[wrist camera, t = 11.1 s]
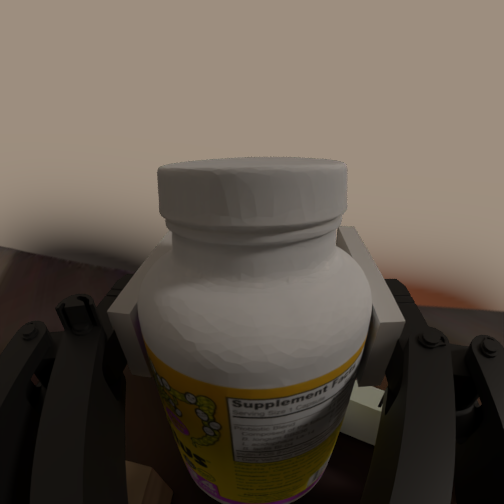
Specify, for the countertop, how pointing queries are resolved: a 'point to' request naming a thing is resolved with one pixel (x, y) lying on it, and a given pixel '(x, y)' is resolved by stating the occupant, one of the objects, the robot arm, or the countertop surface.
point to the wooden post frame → (146, 485)
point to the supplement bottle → (254, 322)
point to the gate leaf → (363, 413)
